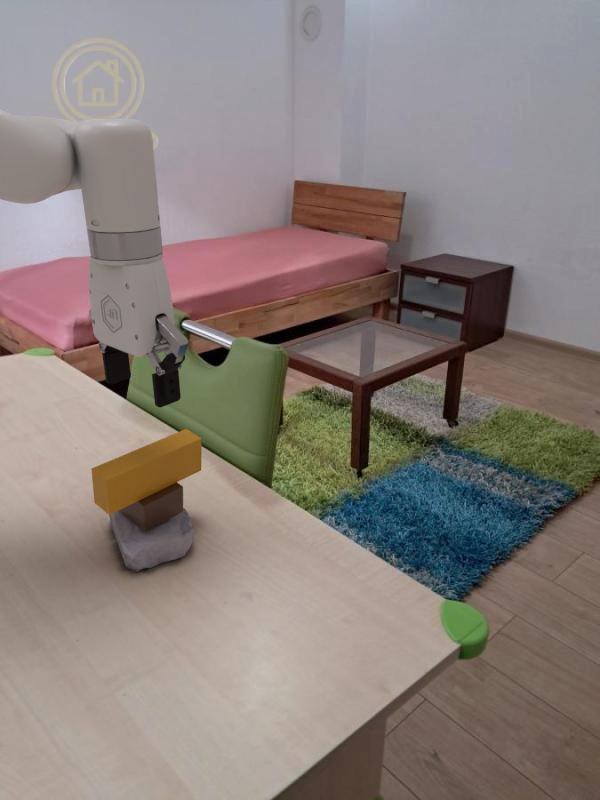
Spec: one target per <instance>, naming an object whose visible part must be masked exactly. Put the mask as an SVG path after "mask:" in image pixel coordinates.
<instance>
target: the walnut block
mask: <svg viewBox="0 0 600 800" xmlns="http://www.w3.org/2000/svg"><path fill="white" fill-rule="evenodd" d="M183 508H184V486H183V485H182V484H180V483H179V482H176V483H174V484H172V485H170V486H168V487H166V488H164V489H162V490H160V491H158V492H156V493H154V494H152V495H150V496H148V497H146V498H144V499H141V500H139V501H137V502H135V503H133V504H131V505H129V506H127V507H125V508H123V509H121V510H119V511H120V512H121V513H122V514H123V515H125V516H126V517H127V518H128V519H130V520H131V521H132V522H133V523H135V524H136V525H137V526H138V527H140V528H141V529H142V530H143V531H145V532H146V531H148V530H149V529H151V528H153V527H155V526H157V525H159V524H161V523H163V522H164V521H166V520H168V519H170V518H172V517H174V516H176V515H178V514H179V513H181V512H183Z"/></svg>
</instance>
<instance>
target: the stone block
mask: <svg viewBox="0 0 600 800" xmlns="http://www.w3.org/2000/svg"><path fill="white" fill-rule="evenodd" d="M108 516H109V523H110V526H111V529H112V532H113V535H114V538H115V541H116V543H117V545H118V548H119V551H120V553H121V557H122V560H123V563H124V565H125V567H126V568H127V569H129V570H132V571H133V572H135V573H136V572H139V571H141V570H143V569H151V568H154V567H155V566H158V565H160V564H162V563H167V562H171V561H175V560H178V559H181V558H183V557H184V556H186V554H187V553H188V551H189V549H190V548H191V547H192V544H193V540H194V535H195V534H194V532H195V530H194V527H193V526H192V520H191V519H192V518H191V516H190V515H189V512H188V511H187V509H186V508H184V507H183V512H181V513H179V514H178V515H176V516H174V517H172V518H170V519H168V520H166V521H164V522H163V523H161V524H159V525H157V526H155V527H153V528H151V529H149V530H148V531H146V532H145V531H143V530H142V529H141V528H140V527H138V526H137V525H136V524H135V523H133V522H132V521H131V520H130V519H128V518H127V517H126V516H125V515H123V514H122V513H121V512H120V511H117V512H115V513H113V514H111V515H109V514H108Z"/></svg>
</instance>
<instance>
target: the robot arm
mask: <svg viewBox="0 0 600 800" xmlns="http://www.w3.org/2000/svg"><path fill="white" fill-rule="evenodd" d="M153 141H154V140H153V134H152V131H151V129H150V126H149V125H148V124H147V123H146V122H145V121H143V120H140V119H137V118H125V117H124V118H123V117H107V118H106V117H105V118H104V117H103V118H102V117H101V118H87V119H83V120H74V119H67V118H65V119H64V118H58V117H52V116H45V115H16V114H13V113H11V112H8V111H6V110H3V109H1V108H0V200H2V201H6V202H9V203H15V204H23V205H31V204H36V203H40V202H42V201H45V200H47V199H49V198H50V197H53V196H56V195H59V194H61V193H64V192H68V191H74V190H81V195H82V203H83V210H84V218H85V226H86V232H87V239H88V247H89V254H90V256H89V263H88V286H89V287H88V288H89V289H88V291H89V305H90V309H89V310H88V314H89V317H90V320H91V324H92V332H93V335H94V337H95V338H96V340H97V341H99V342H98V349H99V351H100V352H101V353H102V354H101V356H102V363H103V369H104V377H105V382H106V384H108V385H110V386H111V385H114V384H117V383H120V382H123V381H126V380H129V379H130V378H131V377H132V372H131V365H130V357H129V355H131V356H134V357H136V358H137V357H138V358H142V357H145V356H146V357H147V358H148V360H149V362H150V364H151V366H152V367H153V370H154V373H151V381H152V389H153V391H152V392H153V400H154V406H155V407H157V408H163V407H166V406H168V405H171V404H174V403H177V402H179V401H180V399H181V397H182V395H181V385H180V384H181V383H180V372H179V370H181V369H182V364H183V363H184V362H185V360H186V353H187V349H188V346H189V340H188V338H187V337H186V336H185V335H184V334H183V333H182V332H181V330H179V328H178V327H177V326H176V325H175V324H176V323H175V322H176V321H175V313H174V307H173V300H172V299H173V298H172V292H171V288H170V283H169V279H168V274H167V268H166V265H165V261H164V259H163V258H164V252H163V251H164V250H163V240H162V239H163V238H162V230H161V218H160V207H159V197H158V186H157V184H158V183H157V173H156V162H155V161H156V160H155V151H154V150H155V149H154V142H153ZM160 353H164V355H165V357H163V359H162V360H161V358H160V356H159V354H160Z"/></svg>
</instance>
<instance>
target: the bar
mask: <svg viewBox="0 0 600 800" xmlns="http://www.w3.org/2000/svg"><path fill="white" fill-rule="evenodd" d="M202 441H203V439H202V437H200V436H199V435H197V434H195V433H194V432H192V431H190V430H188V429H187V428H185V429H182V430H180V431H177V432H175V433H173V434H170V435H168V436H165V437H163V438H161V439H158V440H156V441H154V442H151V443H149V444H146V445H144V446H142V447H140V448H139V447H138V448H137V449H135V450H132V451H130V452H128V453H125V454H123V455H120V456H118V457H116V458H113V459H111V460H108V461H106V462H104V463H102V464H99V465H96V466H94V467H91V479H92V490H93V503H94V504H95V505H97V506H98V507H99V508H100V509H102V510H103V511H104V512H105V514H107V515H108V516H109V515H111V514H113V513H115V512H117V511H119V510H121V509H123V508H125V507H127V506H129V505H131V504H133V503H135V502H137V501H139V500H141V499H144V498H146V497H148V496H150V495H152V494H154V493H156V492H158V491H160V490H162V489H164V488H166V487H168V486H170V485H172V484H174V483H176V482H177V483H179V482H180V481H183V480H185V479H187V478H189V477H191V476H192V475H195V474H198V473H199V472H201V471H202V450H203V449H202V448H203V447H202Z"/></svg>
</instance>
